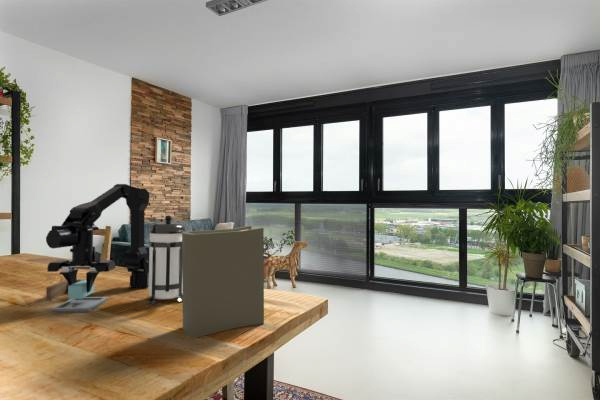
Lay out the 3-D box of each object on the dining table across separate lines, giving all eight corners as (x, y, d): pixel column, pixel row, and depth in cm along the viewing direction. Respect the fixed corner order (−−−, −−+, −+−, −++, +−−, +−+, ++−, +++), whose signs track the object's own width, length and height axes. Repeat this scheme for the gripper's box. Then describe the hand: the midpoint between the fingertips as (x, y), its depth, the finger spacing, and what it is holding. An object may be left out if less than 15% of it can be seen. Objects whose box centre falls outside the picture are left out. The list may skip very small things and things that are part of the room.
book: (189, 341, 88) (188, 232, 88) (179, 329, 96) (179, 229, 96) (263, 323, 100) (263, 228, 100) (249, 314, 108) (249, 225, 108)
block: (94, 280, 117) (81, 286, 109) (93, 291, 117) (81, 298, 109) (81, 280, 117) (68, 286, 109) (81, 292, 117) (68, 298, 109)
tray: (107, 300, 120) (107, 296, 120) (88, 312, 107) (88, 308, 107) (74, 300, 119) (74, 297, 119) (51, 312, 106) (51, 308, 106)
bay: (94, 291, 132) (94, 279, 132) (76, 300, 120) (77, 287, 120) (66, 291, 131) (66, 279, 131) (46, 300, 119) (46, 287, 119)
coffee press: (131, 302, 119) (133, 215, 119) (168, 291, 133) (170, 214, 133) (166, 310, 111) (168, 217, 111) (202, 298, 125) (204, 215, 125)
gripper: (122, 241, 122) (121, 285, 122) (66, 241, 120) (65, 286, 120) (108, 246, 111) (107, 294, 111) (46, 245, 109) (45, 294, 109)
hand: (81, 291), depth 113 cm, fingers closed on block, 4 cm apart
